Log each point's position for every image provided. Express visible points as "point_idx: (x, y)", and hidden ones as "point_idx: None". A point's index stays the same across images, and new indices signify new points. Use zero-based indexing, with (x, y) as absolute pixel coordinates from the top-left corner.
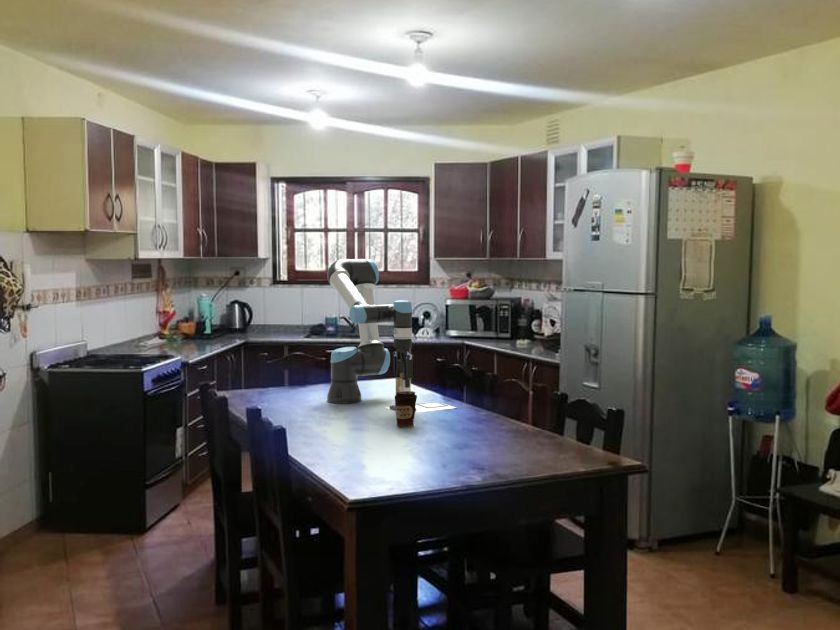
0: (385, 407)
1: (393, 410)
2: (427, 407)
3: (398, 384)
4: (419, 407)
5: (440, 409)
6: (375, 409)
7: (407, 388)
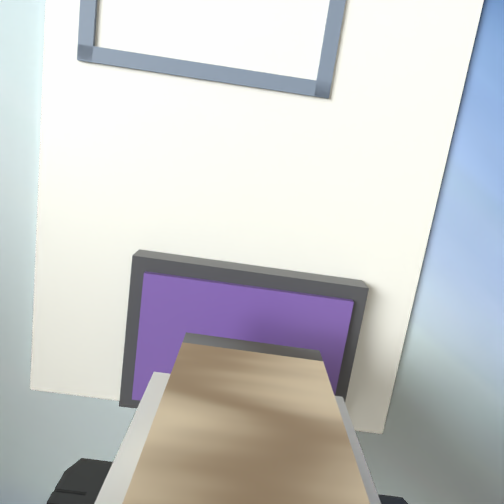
0: (53, 385)
1: None
2: (314, 91)
3: None
4: (243, 141)
5: (463, 36)
6: (54, 468)
7: None
